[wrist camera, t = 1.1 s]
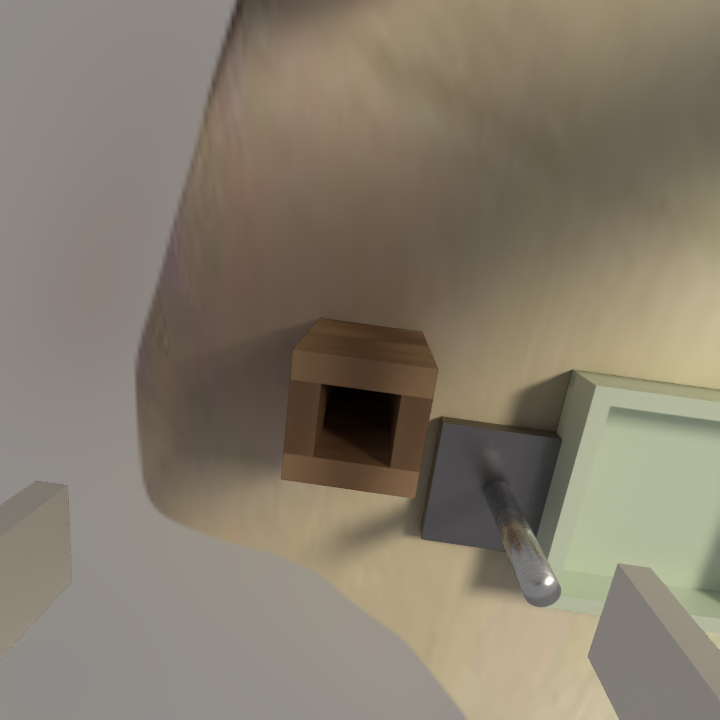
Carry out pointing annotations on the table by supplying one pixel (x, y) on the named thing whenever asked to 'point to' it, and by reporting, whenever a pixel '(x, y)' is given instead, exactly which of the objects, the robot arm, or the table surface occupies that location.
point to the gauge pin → (494, 496)
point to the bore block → (359, 408)
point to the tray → (636, 492)
